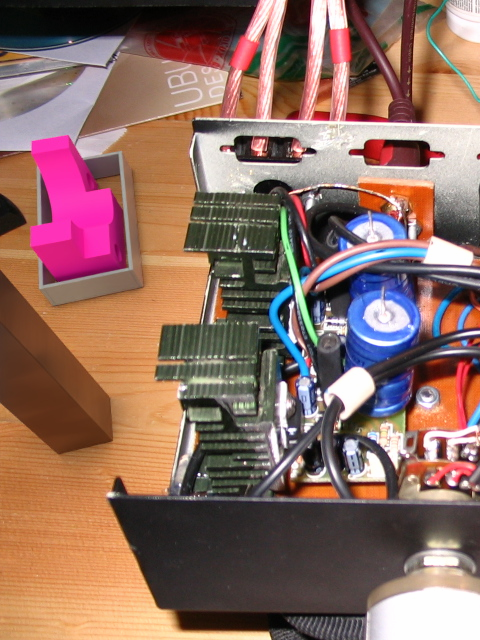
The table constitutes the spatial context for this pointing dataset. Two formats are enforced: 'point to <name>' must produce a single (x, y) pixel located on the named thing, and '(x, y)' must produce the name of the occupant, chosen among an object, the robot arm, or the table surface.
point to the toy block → (76, 215)
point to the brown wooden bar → (47, 380)
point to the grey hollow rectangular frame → (132, 275)
